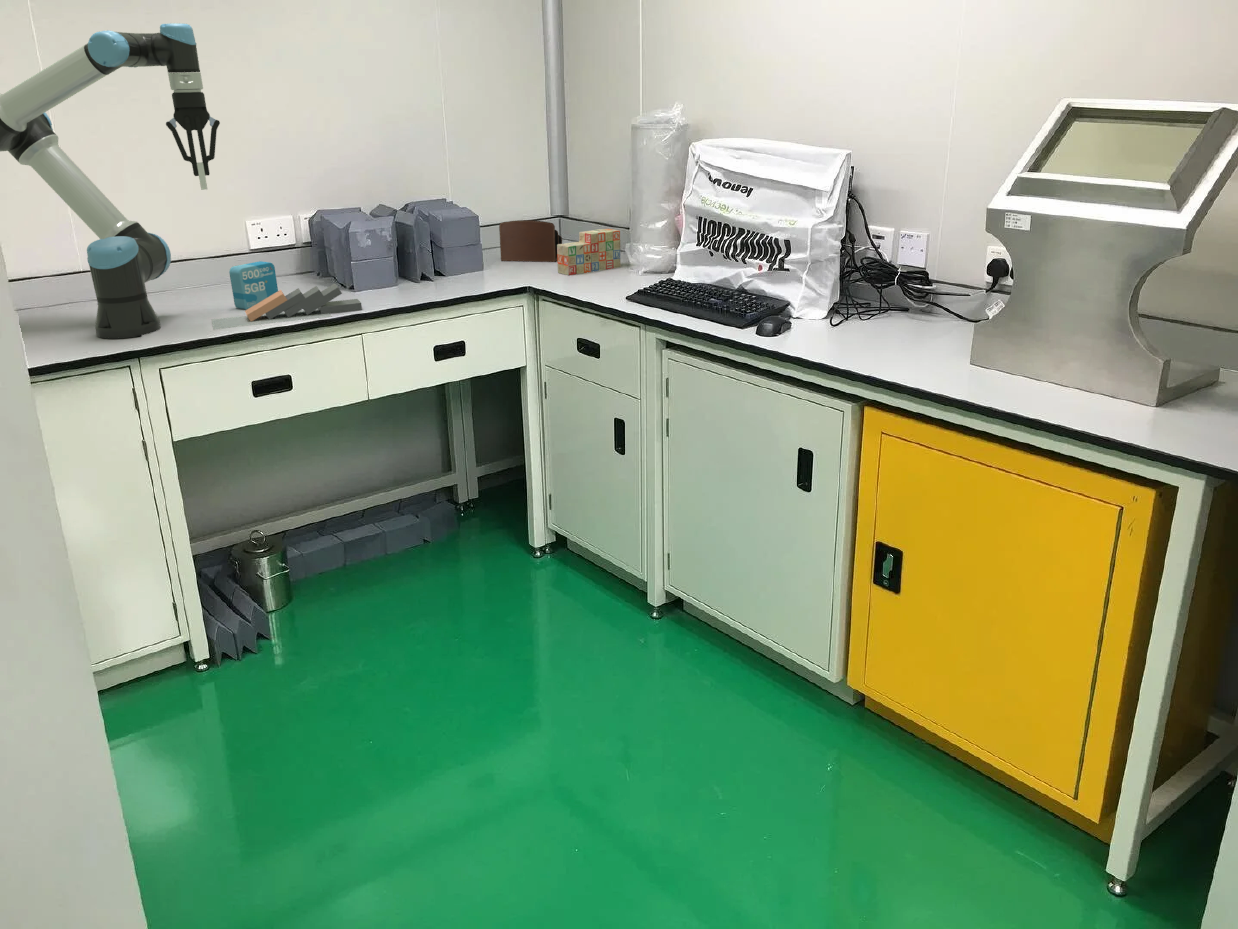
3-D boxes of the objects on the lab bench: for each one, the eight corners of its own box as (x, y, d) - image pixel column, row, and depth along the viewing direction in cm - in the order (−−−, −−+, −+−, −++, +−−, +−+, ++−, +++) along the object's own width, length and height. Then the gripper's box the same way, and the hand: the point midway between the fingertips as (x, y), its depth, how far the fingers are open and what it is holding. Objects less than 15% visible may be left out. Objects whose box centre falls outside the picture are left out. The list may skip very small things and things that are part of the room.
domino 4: (302, 308, 265) (338, 287, 267) (300, 304, 270) (334, 283, 272) (307, 314, 266) (342, 293, 268) (304, 310, 271) (338, 289, 273)
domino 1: (246, 315, 260) (283, 293, 262) (244, 310, 265) (280, 289, 267) (251, 321, 261) (287, 300, 263) (249, 317, 266) (285, 295, 268)
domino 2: (265, 313, 261) (301, 291, 263) (262, 308, 267) (298, 287, 268) (269, 319, 262) (305, 298, 264) (267, 315, 268) (302, 294, 269)
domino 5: (320, 306, 267) (361, 302, 271) (317, 302, 272) (357, 298, 276) (321, 314, 267) (362, 309, 271) (318, 309, 272) (358, 305, 276)
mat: (213, 330, 254) (213, 329, 254) (211, 320, 264) (211, 319, 264) (332, 317, 265) (332, 316, 265) (325, 309, 275) (325, 307, 275)
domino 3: (284, 311, 263) (319, 289, 265) (281, 307, 268) (316, 285, 270) (288, 317, 264) (323, 295, 266) (285, 313, 269) (320, 291, 271)
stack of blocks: (568, 276, 314) (567, 236, 310) (557, 273, 319) (555, 234, 314) (621, 267, 326) (620, 229, 322) (609, 264, 331) (608, 227, 326)
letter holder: (555, 262, 337) (553, 220, 332) (500, 261, 341) (497, 220, 336) (563, 257, 346) (561, 216, 341) (509, 256, 350) (506, 216, 345)
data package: (245, 311, 274) (238, 268, 270) (235, 309, 277) (228, 267, 272) (280, 303, 284) (274, 261, 279) (270, 301, 286) (263, 260, 281)
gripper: (158, 92, 239) (177, 191, 248) (216, 90, 244) (231, 188, 253) (159, 91, 246) (176, 189, 255) (214, 90, 251) (230, 186, 259)
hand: (204, 188), depth 254 cm, fingers closed
